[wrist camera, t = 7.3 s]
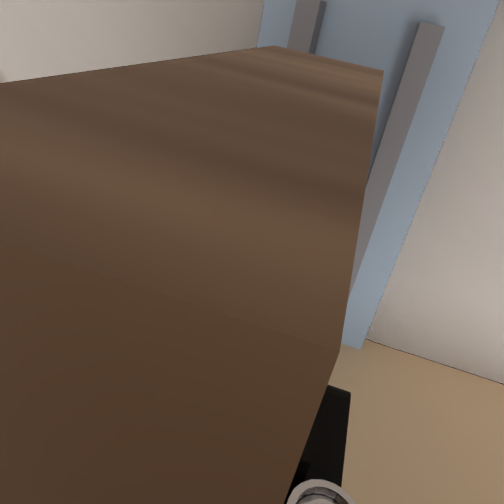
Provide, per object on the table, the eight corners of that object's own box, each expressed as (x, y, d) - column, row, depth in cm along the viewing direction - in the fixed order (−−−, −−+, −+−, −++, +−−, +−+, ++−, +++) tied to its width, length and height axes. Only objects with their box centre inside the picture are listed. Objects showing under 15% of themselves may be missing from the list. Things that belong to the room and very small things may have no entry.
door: (274, 45, 12) (-339, 131, 2) (383, 70, 12) (341, 350, 2) (201, 418, 19) (-17, 868, 9) (268, 443, 19) (120, 945, 9)
